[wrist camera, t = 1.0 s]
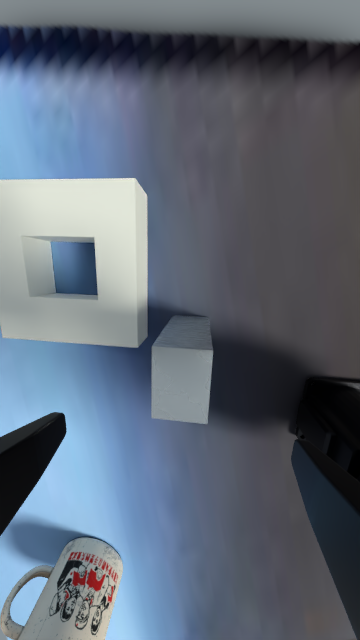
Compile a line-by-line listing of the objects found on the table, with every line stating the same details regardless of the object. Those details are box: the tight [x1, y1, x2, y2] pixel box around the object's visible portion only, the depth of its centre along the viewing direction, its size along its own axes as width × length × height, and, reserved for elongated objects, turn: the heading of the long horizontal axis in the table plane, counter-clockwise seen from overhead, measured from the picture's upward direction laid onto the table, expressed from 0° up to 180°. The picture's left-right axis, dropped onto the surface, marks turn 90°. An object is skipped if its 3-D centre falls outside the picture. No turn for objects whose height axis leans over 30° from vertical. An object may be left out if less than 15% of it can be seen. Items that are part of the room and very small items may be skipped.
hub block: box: [0, 178, 148, 348], centre depth 17 cm, size 12×12×3 cm
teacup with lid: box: [1, 537, 123, 640], centre depth 22 cm, size 12×9×12 cm
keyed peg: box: [152, 315, 213, 424], centre depth 15 cm, size 3×5×8 cm
